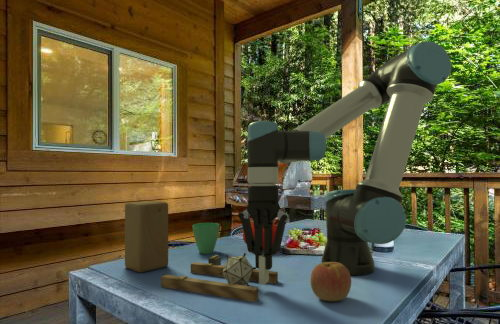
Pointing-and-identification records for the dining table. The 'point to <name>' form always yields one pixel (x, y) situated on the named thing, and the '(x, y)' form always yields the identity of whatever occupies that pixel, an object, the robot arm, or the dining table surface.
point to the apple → (330, 281)
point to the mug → (206, 236)
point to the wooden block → (146, 235)
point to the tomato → (263, 233)
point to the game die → (237, 270)
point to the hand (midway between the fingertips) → (264, 282)
